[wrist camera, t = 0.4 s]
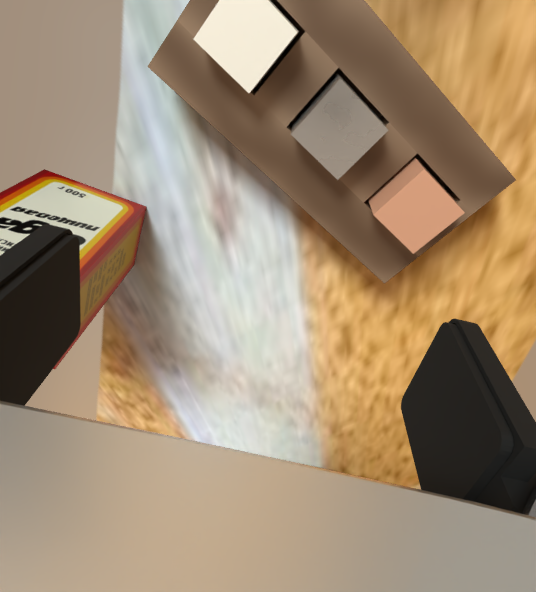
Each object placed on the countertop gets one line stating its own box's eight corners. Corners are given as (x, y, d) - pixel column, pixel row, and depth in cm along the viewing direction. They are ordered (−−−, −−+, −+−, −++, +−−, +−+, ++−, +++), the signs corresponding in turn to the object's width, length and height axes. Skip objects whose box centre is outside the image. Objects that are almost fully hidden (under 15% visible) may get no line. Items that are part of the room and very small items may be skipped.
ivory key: (249, -23, 27) (239, -31, 24) (299, 31, 28) (297, 32, 25) (207, 37, 29) (193, 39, 26) (256, 86, 30) (248, 93, 27)
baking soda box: (146, 206, 40) (60, 299, 26) (133, 264, 43) (52, 373, 30) (44, 169, 39) (-100, 245, 25) (39, 231, 42) (-90, 328, 29)
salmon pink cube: (412, 154, 32) (424, 169, 28) (449, 193, 33) (464, 212, 30) (367, 196, 34) (373, 214, 30) (403, 232, 35) (413, 253, 32)
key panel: (272, -96, 28) (265, -117, 24) (491, 161, 35) (515, 179, 31) (168, 61, 33) (147, 66, 29) (376, 256, 40) (384, 283, 36)
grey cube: (337, 72, 30) (340, 78, 26) (380, 119, 31) (388, 130, 27) (293, 122, 31) (290, 134, 28) (335, 164, 33) (337, 180, 29)
